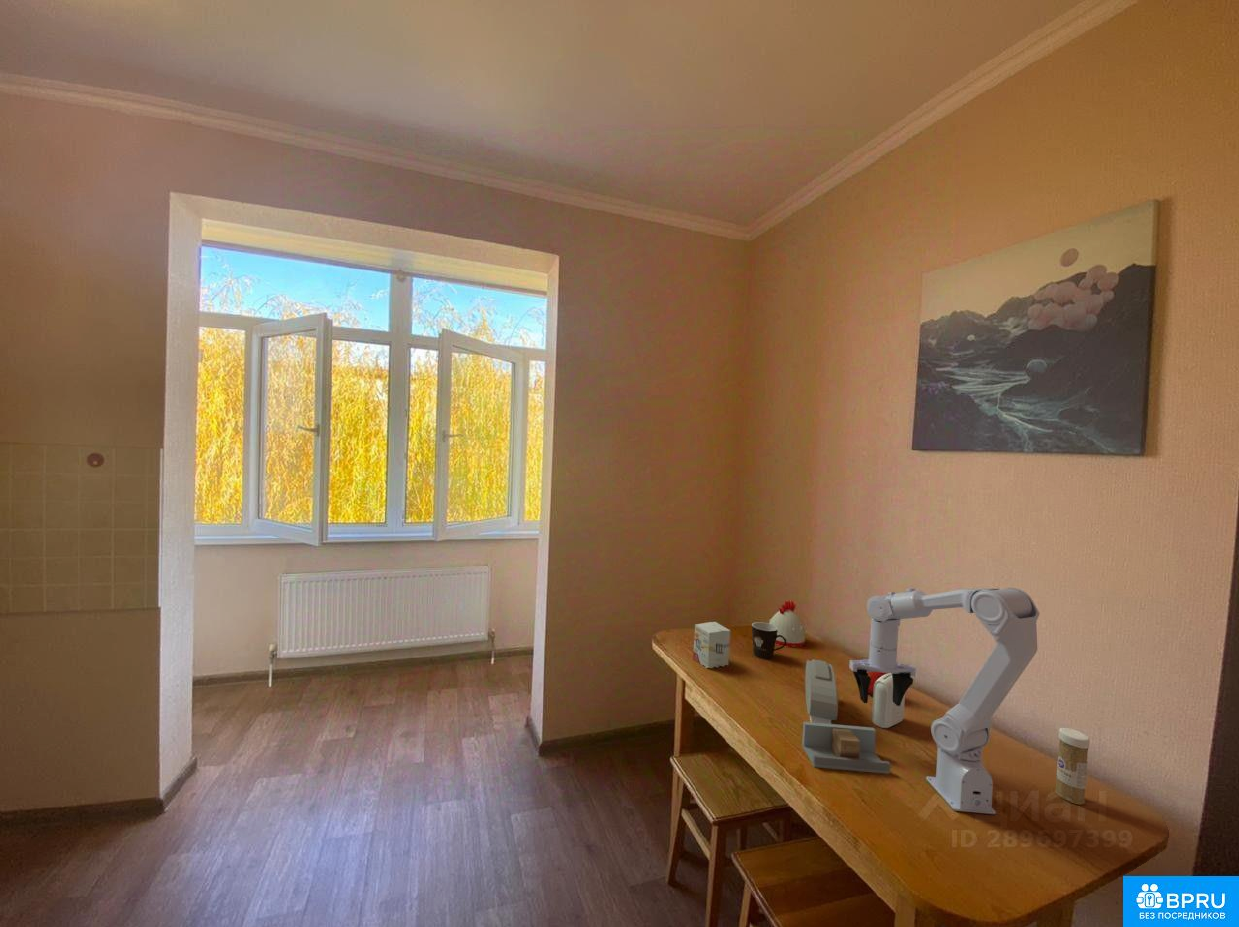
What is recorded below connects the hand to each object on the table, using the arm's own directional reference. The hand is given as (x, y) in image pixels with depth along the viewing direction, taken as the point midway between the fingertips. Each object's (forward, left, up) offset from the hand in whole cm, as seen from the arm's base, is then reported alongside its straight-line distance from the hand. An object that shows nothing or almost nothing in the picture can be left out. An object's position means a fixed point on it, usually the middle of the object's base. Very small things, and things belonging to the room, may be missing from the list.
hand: (879, 702), depth 112 cm
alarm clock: (+13, +9, -10) cm, 19 cm away
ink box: (+40, +34, -10) cm, 53 cm away
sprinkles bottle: (-14, -32, -10) cm, 36 cm away
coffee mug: (+48, +14, -10) cm, 51 cm away
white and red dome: (+66, +2, -10) cm, 67 cm away
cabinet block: (-8, +11, -9) cm, 16 cm away
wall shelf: (-8, +11, -10) cm, 17 cm away
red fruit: (+26, -13, -10) cm, 31 cm away
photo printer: (+11, -8, -10) cm, 17 cm away
